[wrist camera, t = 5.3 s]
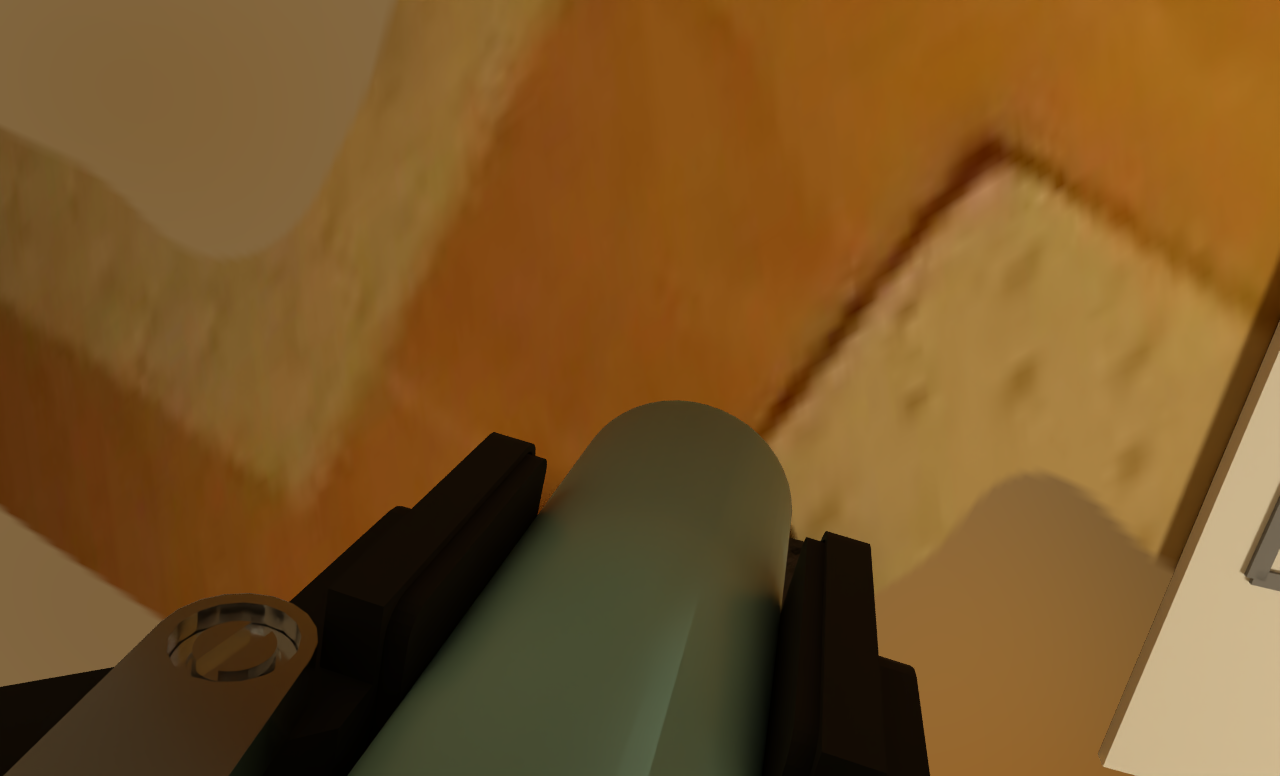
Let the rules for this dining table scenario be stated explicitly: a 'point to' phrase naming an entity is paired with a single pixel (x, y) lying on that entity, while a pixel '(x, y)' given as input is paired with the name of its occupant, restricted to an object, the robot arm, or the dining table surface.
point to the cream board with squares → (1217, 622)
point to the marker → (618, 619)
